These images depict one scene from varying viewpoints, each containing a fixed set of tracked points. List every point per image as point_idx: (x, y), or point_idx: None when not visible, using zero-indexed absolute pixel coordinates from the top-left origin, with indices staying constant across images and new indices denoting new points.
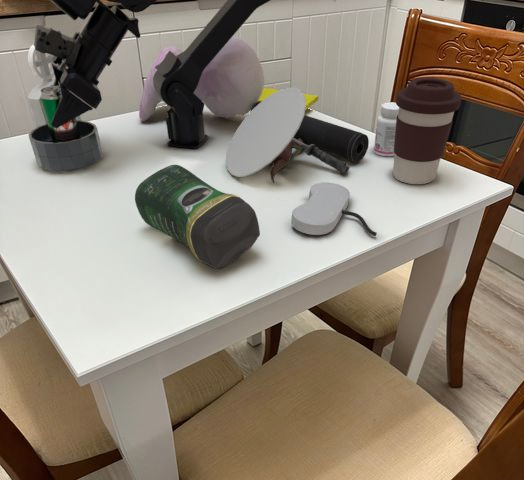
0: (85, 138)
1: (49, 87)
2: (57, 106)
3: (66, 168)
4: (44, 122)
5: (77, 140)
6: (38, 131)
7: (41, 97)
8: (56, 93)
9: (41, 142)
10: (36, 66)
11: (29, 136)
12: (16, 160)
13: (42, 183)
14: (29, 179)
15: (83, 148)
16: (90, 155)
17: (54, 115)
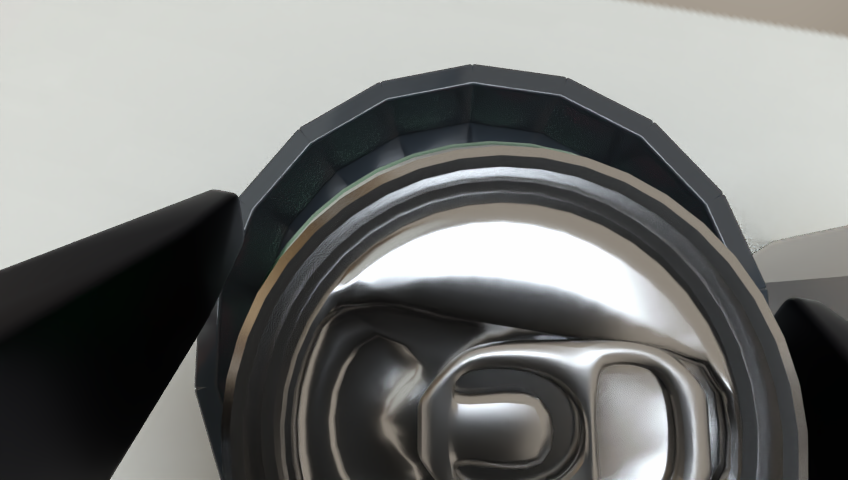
0: (215, 449)
1: (724, 400)
2: (53, 290)
3: None
4: (831, 270)
5: (195, 373)
6: (664, 179)
7: (454, 149)
8: (227, 405)
9: (321, 119)
10: None
11: (513, 73)
12: (661, 63)
13: (261, 110)
14: (351, 66)
15: None
16: None
17: (129, 228)
